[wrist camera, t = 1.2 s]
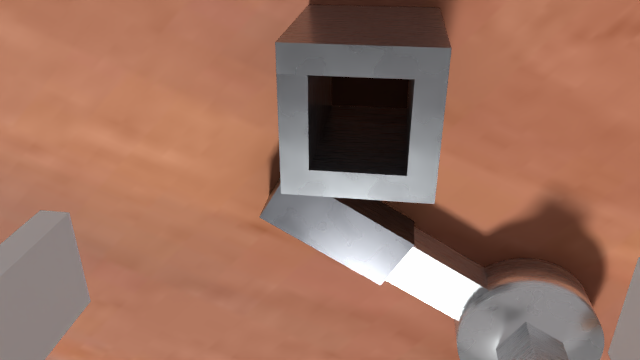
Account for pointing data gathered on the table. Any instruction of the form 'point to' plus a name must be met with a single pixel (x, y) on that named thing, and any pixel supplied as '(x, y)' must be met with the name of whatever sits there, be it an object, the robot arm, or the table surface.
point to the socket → (360, 121)
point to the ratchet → (450, 279)
